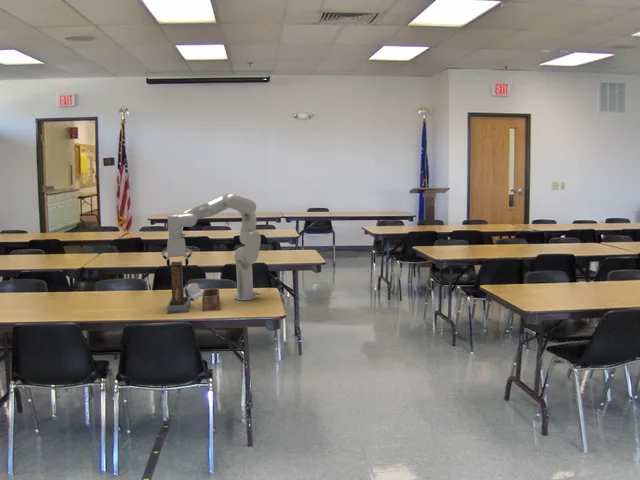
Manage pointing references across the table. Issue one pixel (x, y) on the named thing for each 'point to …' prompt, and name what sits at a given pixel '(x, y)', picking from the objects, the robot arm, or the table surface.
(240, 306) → the table surface
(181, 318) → the table surface
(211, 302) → the frame
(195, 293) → the white gray electronic device
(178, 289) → the book
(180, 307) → the tray
